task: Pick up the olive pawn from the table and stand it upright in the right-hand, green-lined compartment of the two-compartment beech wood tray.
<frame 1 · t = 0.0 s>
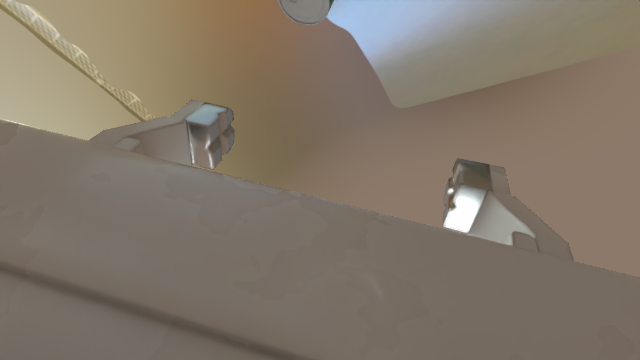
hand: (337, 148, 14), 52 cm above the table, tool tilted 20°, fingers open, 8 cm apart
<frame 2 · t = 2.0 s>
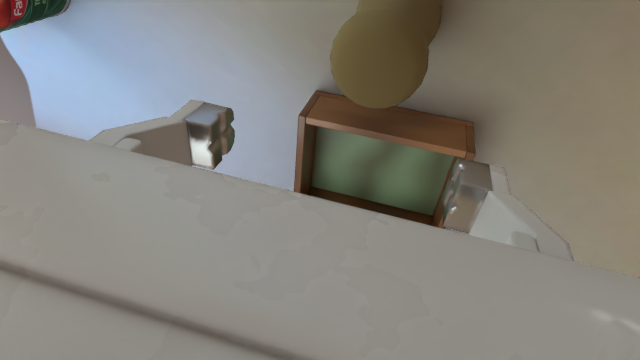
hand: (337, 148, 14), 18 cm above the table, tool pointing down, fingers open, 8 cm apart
olive pawn: (397, 16, 28), on the table
tray: (371, 197, 38), on the table
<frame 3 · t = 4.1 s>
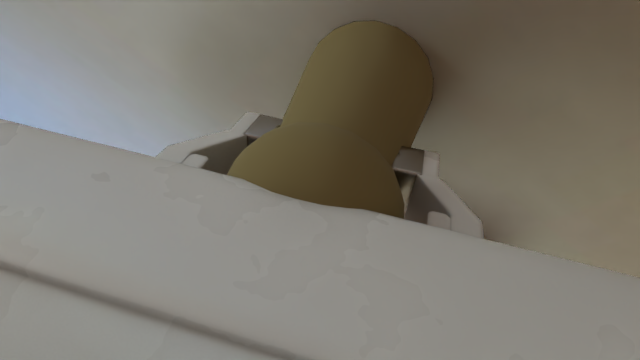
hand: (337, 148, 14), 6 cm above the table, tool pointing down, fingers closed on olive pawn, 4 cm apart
olive pawn: (367, 86, 18), on the table, touching gripper
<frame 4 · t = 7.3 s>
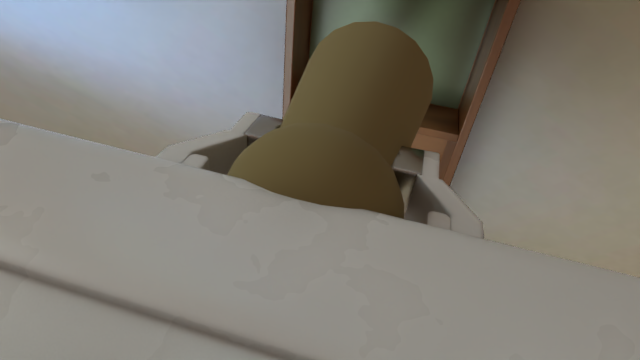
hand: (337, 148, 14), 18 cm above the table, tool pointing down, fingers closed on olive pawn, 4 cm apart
olive pawn: (367, 86, 18), point 12 cm above the table, touching gripper
tray: (380, 93, 31), on the table
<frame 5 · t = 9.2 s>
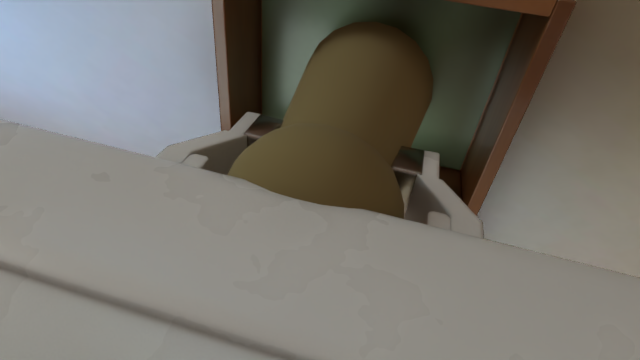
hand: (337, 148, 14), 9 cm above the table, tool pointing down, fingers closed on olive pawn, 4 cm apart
olive pawn: (367, 86, 18), point 3 cm above the table, touching gripper
tray: (358, 144, 23), on the table
when the fingers open (7 cm above the table, at t = 10.4 s): olive pawn stays where it is, resting on tray.
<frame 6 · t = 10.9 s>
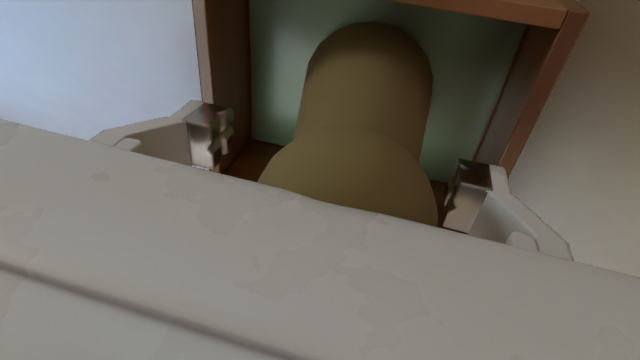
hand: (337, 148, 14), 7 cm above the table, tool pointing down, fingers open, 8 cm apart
olive pawn: (367, 86, 18), point 1 cm above the table, touching tray
tray: (354, 158, 22), on the table
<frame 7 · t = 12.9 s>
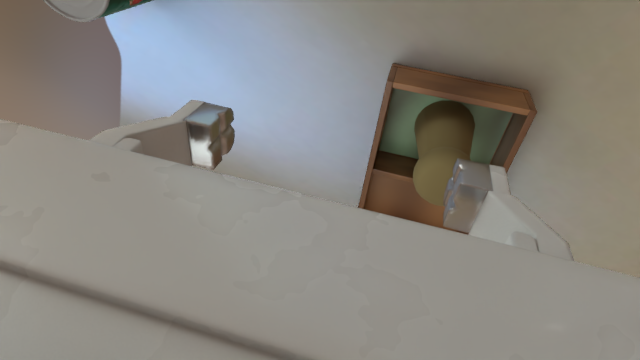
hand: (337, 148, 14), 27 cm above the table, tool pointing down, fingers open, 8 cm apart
olive pawn: (443, 126, 40), point 1 cm above the table, touching tray
tray: (429, 160, 44), on the table
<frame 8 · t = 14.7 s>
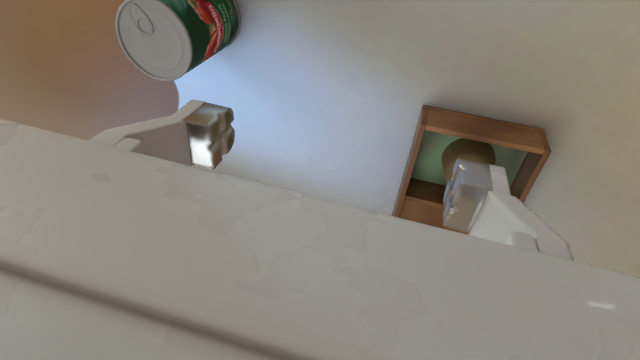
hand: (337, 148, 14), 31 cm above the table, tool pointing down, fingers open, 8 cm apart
olive pawn: (467, 158, 46), point 1 cm above the table, touching tray
tray: (454, 186, 50), on the table
canned tomato: (210, 13, 45), on the table
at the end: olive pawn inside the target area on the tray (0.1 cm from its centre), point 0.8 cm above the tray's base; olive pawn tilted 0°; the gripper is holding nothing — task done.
